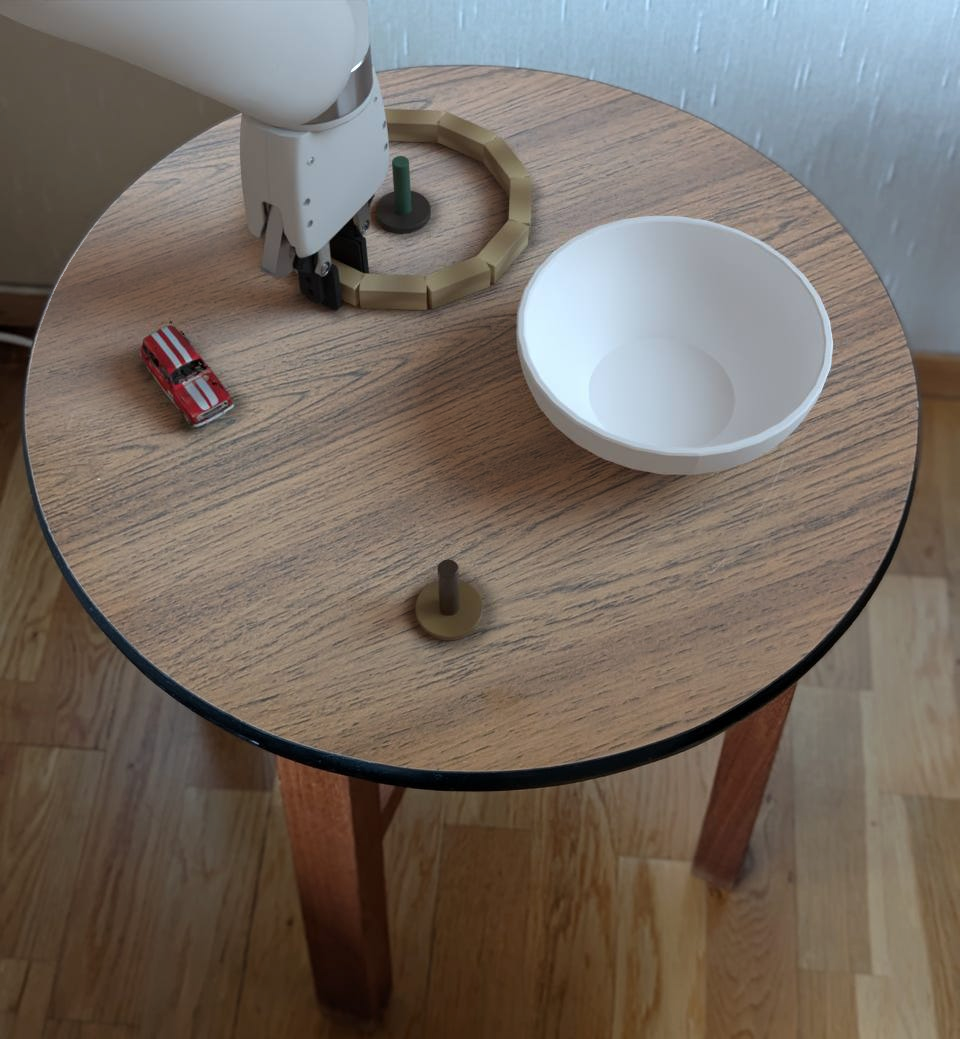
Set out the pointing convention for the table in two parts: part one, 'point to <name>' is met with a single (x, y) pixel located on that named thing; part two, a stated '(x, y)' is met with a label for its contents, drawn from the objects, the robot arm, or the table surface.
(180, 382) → the toy car
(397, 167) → the green peg
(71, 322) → the table surface
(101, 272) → the table surface
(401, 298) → the ring
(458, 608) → the walnut peg
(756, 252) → the bowl
